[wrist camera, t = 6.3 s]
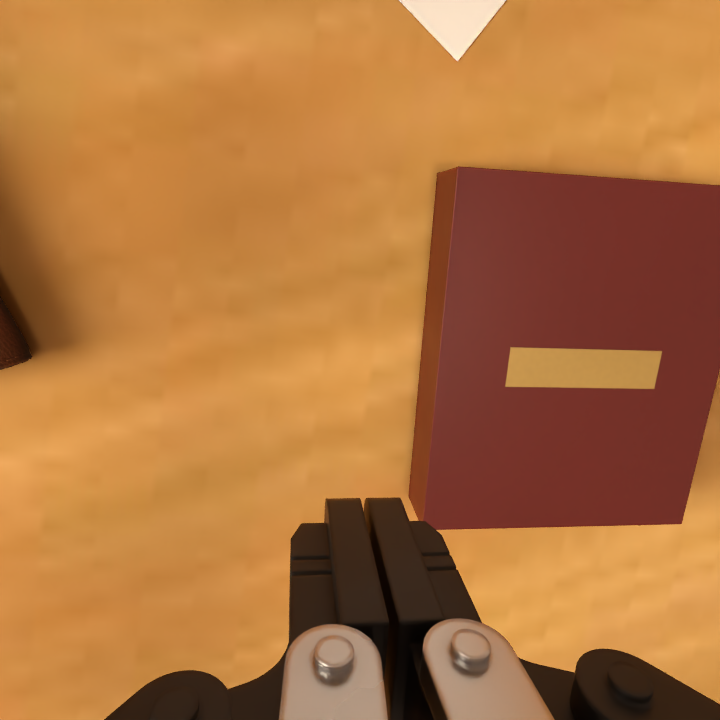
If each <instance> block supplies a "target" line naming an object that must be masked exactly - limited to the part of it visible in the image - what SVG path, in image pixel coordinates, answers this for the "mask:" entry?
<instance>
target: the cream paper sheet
mask: <svg viewBox="0 0 720 720" xmlns="http://www.w3.org/2000/svg"><path fill="white" fill-rule="evenodd" d="M399 1H400V2H401V3H402V4H403V5H404V6H405V7H406V8H407V9H408V10H409V11H410V12H411V13H412V14H413V16H414V17H415V18H416V19H417V20H418V21H419V22H420V23H421V24H422V25H423V26H424V27H425V28H426V29H427V30H428V31H429V32H430V33H431V34H432V35H433V37H434V38H435V39H436V40H437V41H438V42H439V43H440V44H441V45H442V46H443V47H444V48H445V49H446V50H447V51H448V52H449V53H450V54H451V55H452V57H453V58H454V59H455V60H456V61H458V60H459V59H460V58H461V56H462V55H463V54H464V53H465V51H466V50H467V49H468V48H469V46H470V45H471V44H472V43H473V41H474V40H475V39H476V38H477V36H478V35H479V34H480V32H481V31H482V30H483V29H484V27H485V26H486V25H487V24H488V22H489V21H490V20H491V19H492V17H493V16H494V15H495V14H496V12H497V11H498V10H499V9H500V7H501V6H502V5H503V4H504V2H505V1H506V0H399Z"/></svg>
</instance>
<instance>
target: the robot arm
mask: <svg viewBox="0 0 720 720" xmlns="http://www.w3.org/2000/svg"><path fill="white" fill-rule="evenodd" d="M104 720H720V704H718V703H716V702H715V701H713V700H711V699H709V698H708V697H706V696H704V695H702V694H701V693H699V692H697V691H695V690H694V689H692V688H690V687H689V686H687V685H685V684H683V683H682V682H680V681H678V680H676V679H675V678H673V677H671V676H669V675H668V674H666V673H664V672H662V671H661V670H659V669H657V668H655V667H654V666H652V665H650V664H649V663H647V662H645V661H643V660H641V659H639V658H637V657H635V656H633V655H630V654H628V653H625V652H621V651H618V650H612V649H595V650H592V651H589V652H587V653H585V654H583V655H582V656H581V657H580V658H579V660H578V662H577V665H576V670H575V673H574V672H569V671H565V670H560V669H556V668H551V667H547V666H542V665H538V664H534V663H531V662H528V661H525V660H523V659H520V658H518V657H517V655H516V653H515V651H514V650H513V648H512V647H511V645H510V644H509V642H508V641H507V640H506V639H505V638H504V637H503V636H502V635H501V634H500V633H498V632H497V631H496V630H494V629H493V628H491V627H489V626H487V625H485V624H483V623H482V622H481V620H480V617H479V615H478V613H477V611H476V609H475V607H474V604H473V602H472V600H471V598H470V596H469V594H468V591H467V589H466V587H465V585H464V583H463V581H462V578H461V576H460V574H459V572H458V570H456V565H455V563H454V561H453V559H452V557H451V556H450V555H449V550H448V548H447V546H446V544H445V542H444V539H443V537H442V535H441V534H440V533H439V532H437V531H436V530H435V529H434V528H433V527H432V526H431V525H429V524H428V523H427V522H426V521H409V519H408V516H407V514H406V511H405V508H404V506H403V503H402V501H401V499H400V498H366V499H365V503H364V512H363V508H362V503H361V500H360V498H344V499H326V501H325V518H324V523H303V524H301V525H300V526H299V528H298V529H297V531H296V532H295V534H294V535H293V537H292V538H291V554H290V598H289V643H288V647H287V649H286V651H285V653H284V655H283V657H282V658H281V659H280V661H279V662H278V663H277V664H276V665H275V666H274V667H273V668H272V669H271V670H269V671H268V672H267V673H265V674H264V675H262V676H260V677H259V678H257V679H255V680H252V681H250V682H247V683H245V684H242V685H239V686H236V687H233V688H231V689H228V690H227V688H226V687H225V685H224V684H223V683H222V682H221V681H220V680H219V679H217V678H216V677H214V676H212V675H211V674H208V673H205V672H201V671H194V670H188V671H178V672H173V673H170V674H166V675H164V676H162V677H159V678H157V679H155V680H153V681H152V682H150V683H148V684H147V685H145V686H144V687H143V688H141V689H140V690H139V691H137V692H136V693H135V694H134V695H133V696H132V697H130V698H129V699H128V700H127V701H126V702H124V703H123V704H122V705H121V706H120V707H119V708H117V709H116V710H115V711H114V712H113V713H111V714H110V715H109V716H108V717H107V718H106V719H104Z"/></svg>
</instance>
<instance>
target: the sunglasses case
mask: <svg viewBox="0 0 720 720" xmlns="http://www.w3.org/2000/svg"><path fill="white" fill-rule="evenodd" d="M31 358H32V355H31V353H30V350H29V347H28V345H27V343H26V341H25V339H24V337H23V335H22V333H21V331H20V329H19V328H18V326H17V325H16V323H15V321H14V319H13V317H12V315H11V313H10V312H9V310H8V308H7V307H6V305H5V303H4V302H3V300H2V298H1V297H0V370H1V369H5V368H8V367H12V366H14V365H17V364H19V363H23V362H26V361H28V360H29V359H31Z"/></svg>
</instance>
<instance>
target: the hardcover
mask: <svg viewBox="0 0 720 720" xmlns="http://www.w3.org/2000/svg"><path fill="white" fill-rule="evenodd" d="M719 370H720V185H706V184H692V183H678V182H664V181H651V180H637V179H623V178H609V177H596V176H582V175H568V174H554V173H540V172H527V171H513V170H499V169H485V168H471V167H456V168H453V169H450V170H447V171H443V172H439V173H437V182H436V193H435V205H434V216H433V227H432V238H431V250H430V261H429V272H428V283H427V295H426V306H425V317H424V329H423V340H422V351H421V362H420V374H419V385H418V396H417V407H416V419H415V430H414V441H413V453H412V464H411V475H410V486H409V499H410V500H411V503H412V505H413V508H414V510H415V513H416V515H417V517H418V520H419V521H426V522H427V523H428V524H429V525H431V526H432V527H433V528H434V529H435V530H444V529H488V528H531V527H574V526H618V525H661V524H682V520H683V516H684V512H685V508H686V504H687V500H688V496H689V492H690V488H691V484H692V479H693V475H694V471H695V467H696V463H697V459H698V455H699V451H700V447H701V443H702V439H703V435H704V431H705V427H706V423H707V419H708V415H709V411H710V406H711V402H712V398H713V394H714V390H715V386H716V382H717V378H718V374H719Z"/></svg>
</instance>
